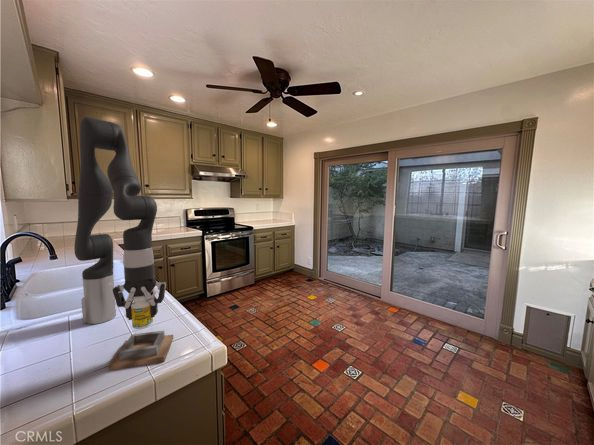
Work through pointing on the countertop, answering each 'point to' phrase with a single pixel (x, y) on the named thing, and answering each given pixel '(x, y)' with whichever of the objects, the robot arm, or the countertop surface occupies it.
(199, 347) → the countertop surface
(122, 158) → the robot arm
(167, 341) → the socket stand
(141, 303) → the supplement bottle
